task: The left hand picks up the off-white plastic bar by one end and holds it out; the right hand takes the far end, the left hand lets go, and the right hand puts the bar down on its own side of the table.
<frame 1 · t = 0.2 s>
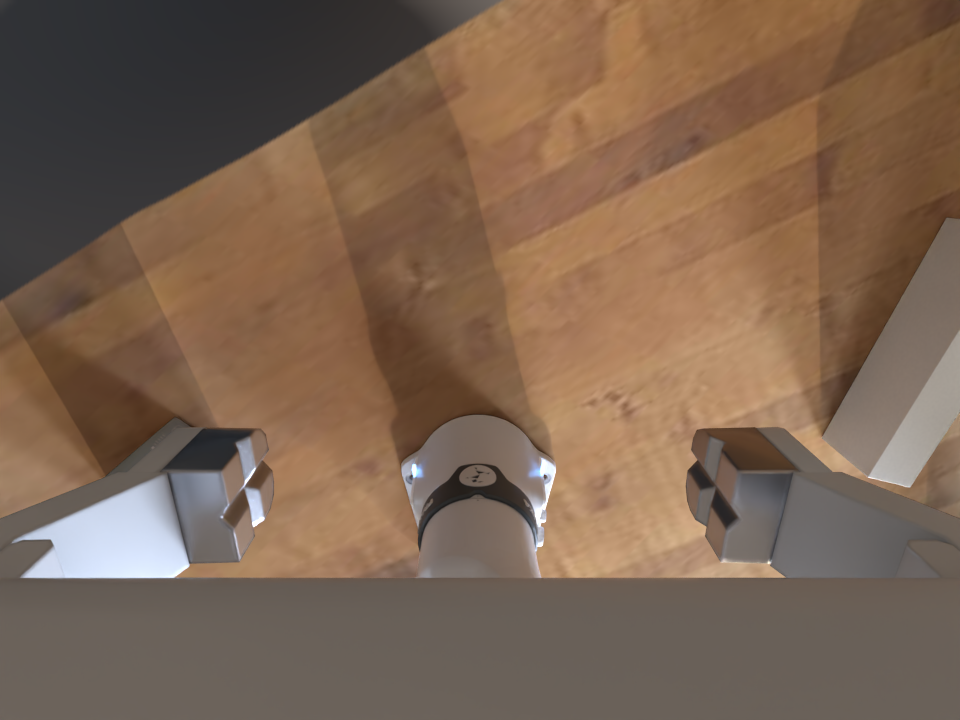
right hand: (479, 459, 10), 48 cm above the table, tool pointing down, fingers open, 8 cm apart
hard drive box: (171, 473, 66), on the table
bar: (899, 341, 60), on the table
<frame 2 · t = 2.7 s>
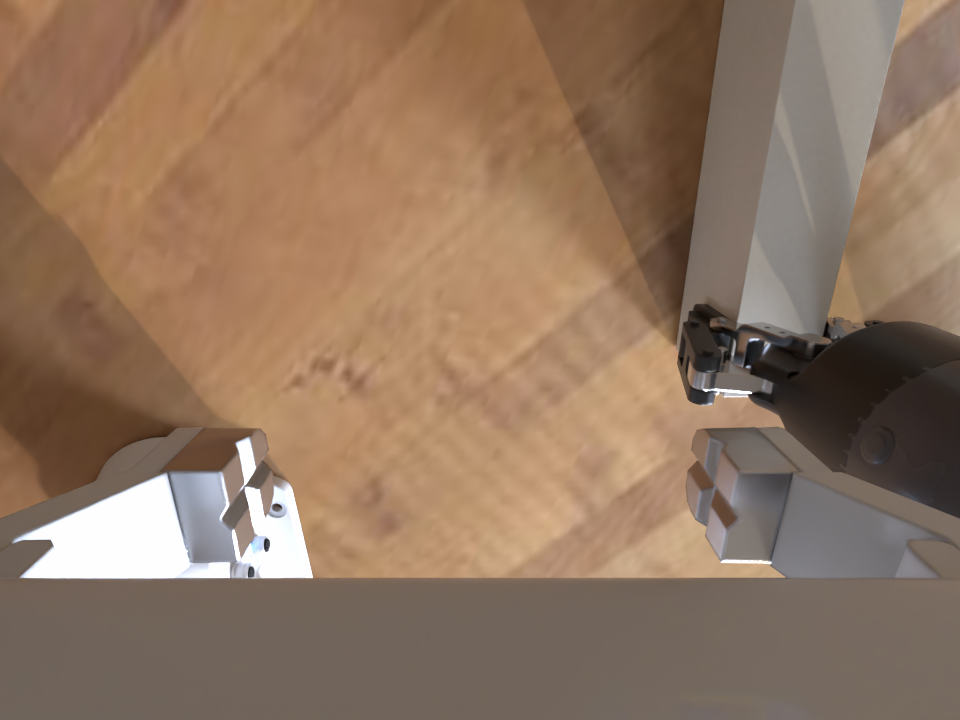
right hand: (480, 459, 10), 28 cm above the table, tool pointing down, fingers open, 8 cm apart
bar: (741, 154, 34), on the table, touching left hand
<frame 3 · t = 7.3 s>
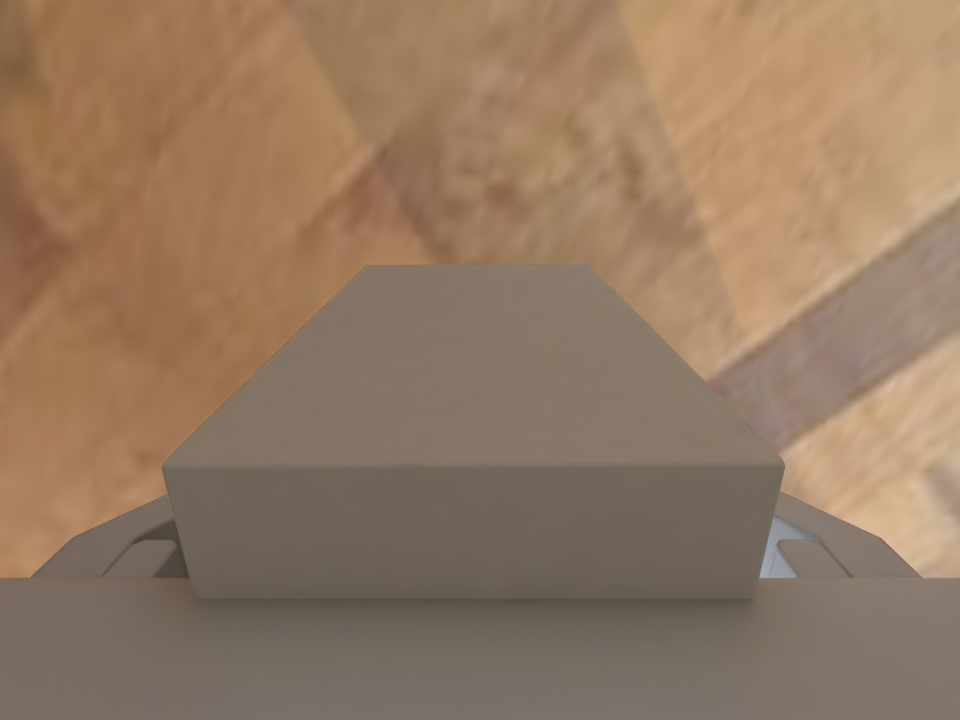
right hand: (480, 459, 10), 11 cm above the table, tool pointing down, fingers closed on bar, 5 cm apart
bar: (479, 688, 17), point 8 cm above the table, touching right hand, left hand
when the left hand's fingers open (11 cm above the table, at t = 8.4 s): bar stays where it is, held by the right hand.
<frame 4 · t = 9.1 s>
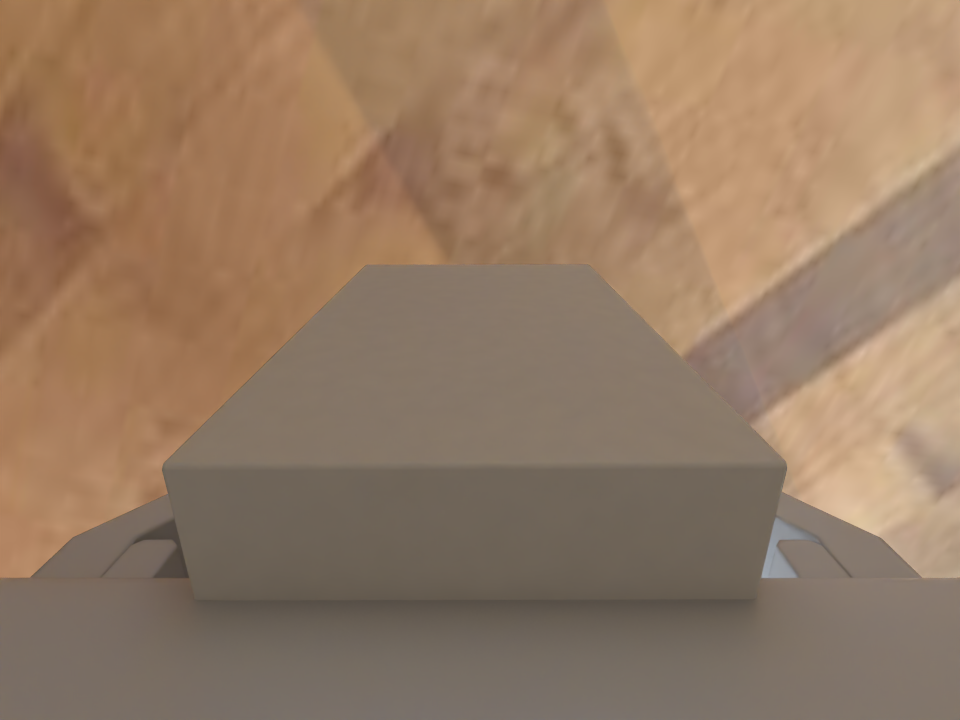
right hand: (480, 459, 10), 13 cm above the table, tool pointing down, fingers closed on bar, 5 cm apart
bar: (478, 689, 17), point 10 cm above the table, touching right hand
when the right hand's fingers open (4 cm above the table, at t = 15.8 s): bar drops 1 cm, on the table.
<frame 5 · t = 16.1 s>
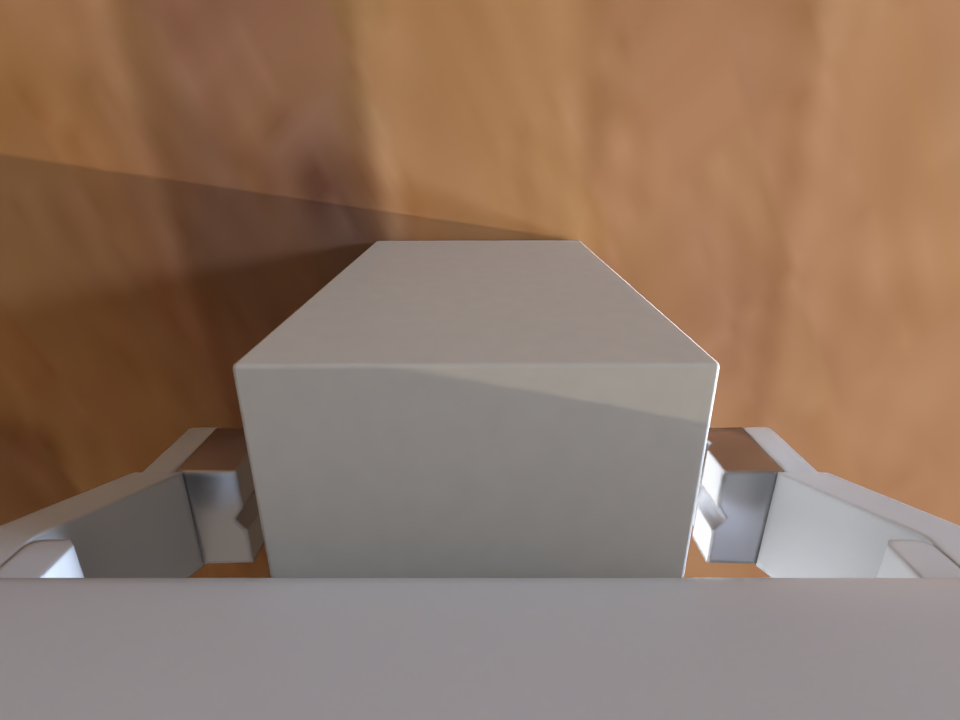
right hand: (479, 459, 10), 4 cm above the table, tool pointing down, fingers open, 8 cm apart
bar: (479, 642, 18), on the table
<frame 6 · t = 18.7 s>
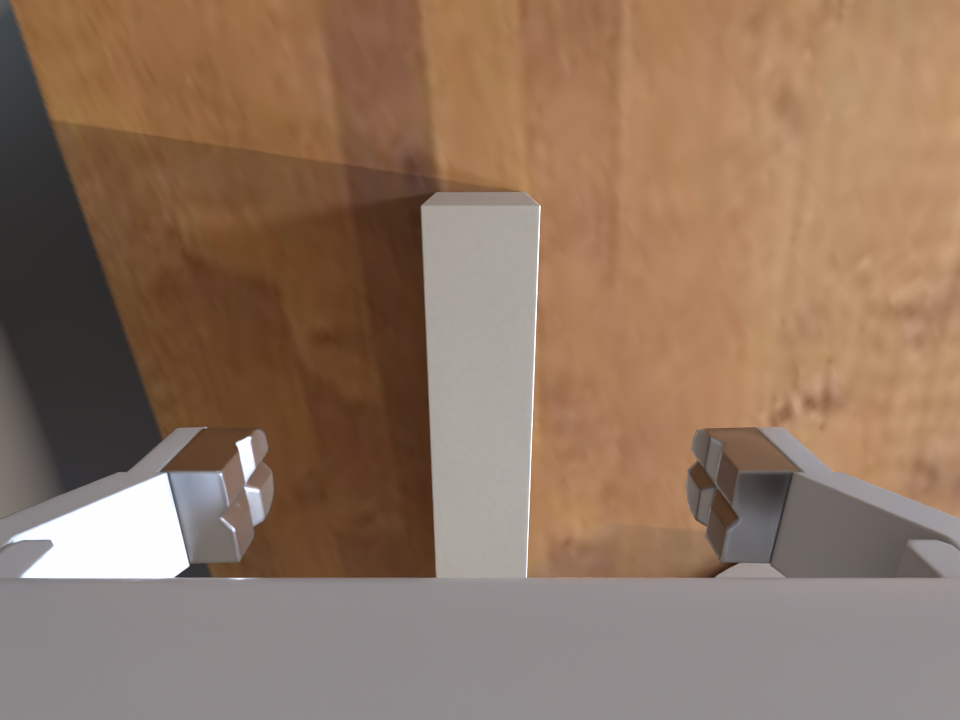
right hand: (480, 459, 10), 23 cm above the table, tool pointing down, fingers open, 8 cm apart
bar: (480, 406, 35), on the table
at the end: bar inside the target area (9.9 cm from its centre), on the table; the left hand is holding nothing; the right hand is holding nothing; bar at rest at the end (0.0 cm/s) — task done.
